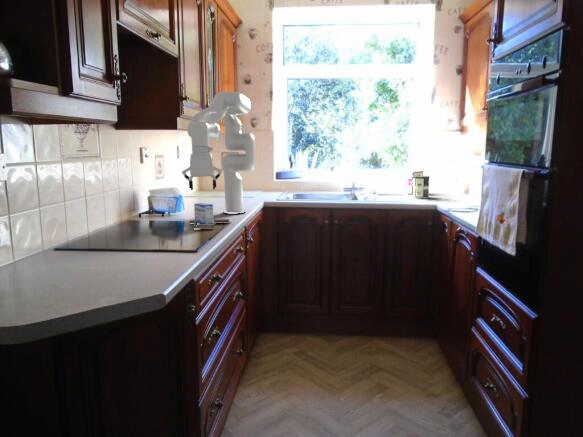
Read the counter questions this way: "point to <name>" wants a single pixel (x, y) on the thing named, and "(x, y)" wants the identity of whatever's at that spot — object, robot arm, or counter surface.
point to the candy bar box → (410, 179)
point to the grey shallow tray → (204, 225)
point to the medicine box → (203, 213)
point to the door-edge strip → (215, 220)
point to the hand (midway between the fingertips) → (203, 189)
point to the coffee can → (420, 186)
